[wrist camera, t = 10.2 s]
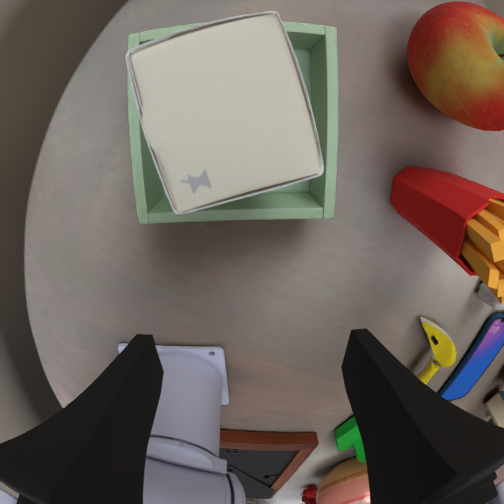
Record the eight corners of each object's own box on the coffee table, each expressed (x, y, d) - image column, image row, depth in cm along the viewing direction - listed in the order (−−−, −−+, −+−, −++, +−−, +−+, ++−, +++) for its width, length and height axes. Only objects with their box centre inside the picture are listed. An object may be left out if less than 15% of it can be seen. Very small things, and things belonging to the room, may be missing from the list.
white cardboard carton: (281, 151, 17) (330, 186, 7) (209, 170, 17) (171, 228, 8) (259, 69, 14) (282, 4, 5) (186, 89, 15) (118, 51, 6)
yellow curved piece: (410, 395, 27) (412, 416, 24) (367, 378, 28) (366, 400, 25) (462, 330, 23) (471, 348, 20) (417, 307, 24) (424, 326, 21)
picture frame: (270, 490, 40) (316, 432, 30) (271, 499, 38) (318, 445, 28) (162, 481, 38) (148, 418, 28) (160, 490, 36) (145, 431, 26)
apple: (429, 144, 17) (537, 176, 8) (361, 49, 14) (458, 6, 5) (482, 92, 15) (578, 102, 6) (427, 6, 12) (517, -27, 3)
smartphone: (432, 404, 29) (494, 316, 23) (430, 400, 30) (490, 311, 24) (464, 397, 30) (521, 316, 24) (462, 393, 31) (517, 312, 24)
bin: (158, 203, 18) (138, 224, 15) (150, 50, 14) (128, 34, 10) (316, 199, 18) (333, 219, 15) (317, 45, 14) (336, 26, 10)
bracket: (425, 387, 28) (447, 429, 22) (415, 415, 31) (432, 452, 25) (333, 420, 29) (346, 470, 23) (336, 443, 32) (346, 484, 26)
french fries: (465, 174, 18) (584, 231, 7) (457, 221, 19) (562, 297, 8) (377, 160, 17) (516, 222, 6) (371, 217, 19) (482, 321, 8)
